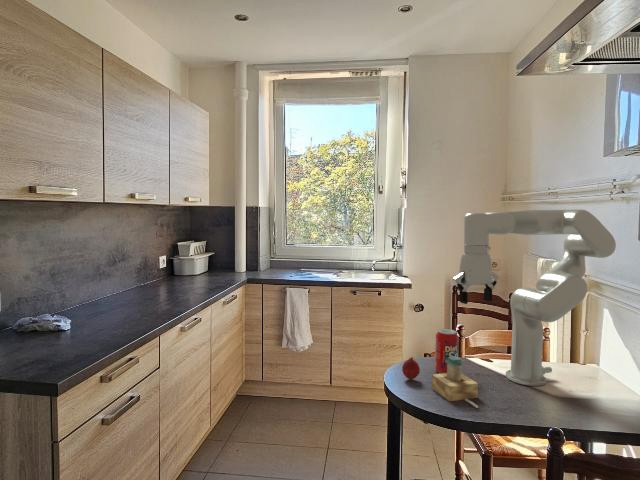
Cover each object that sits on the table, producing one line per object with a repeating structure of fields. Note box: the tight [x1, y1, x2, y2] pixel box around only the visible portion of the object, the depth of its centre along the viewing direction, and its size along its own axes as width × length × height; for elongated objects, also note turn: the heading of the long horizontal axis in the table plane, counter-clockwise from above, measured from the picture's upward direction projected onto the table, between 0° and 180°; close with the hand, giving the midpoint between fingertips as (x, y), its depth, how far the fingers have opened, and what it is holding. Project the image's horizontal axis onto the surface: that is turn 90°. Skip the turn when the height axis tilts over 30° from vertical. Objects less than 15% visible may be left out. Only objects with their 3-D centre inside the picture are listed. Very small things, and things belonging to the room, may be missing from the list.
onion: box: [401, 356, 421, 381], centre depth 141 cm, size 6×6×8 cm
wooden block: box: [430, 373, 479, 402], centre depth 131 cm, size 10×10×4 cm
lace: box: [464, 398, 479, 409], centre depth 123 cm, size 5×1×1 cm, turn 17°
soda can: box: [434, 328, 460, 374], centre depth 149 cm, size 8×8×15 cm
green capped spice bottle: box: [447, 356, 462, 383], centre depth 131 cm, size 3×3×11 cm
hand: (475, 301), depth 137 cm, fingers open, 9 cm apart
